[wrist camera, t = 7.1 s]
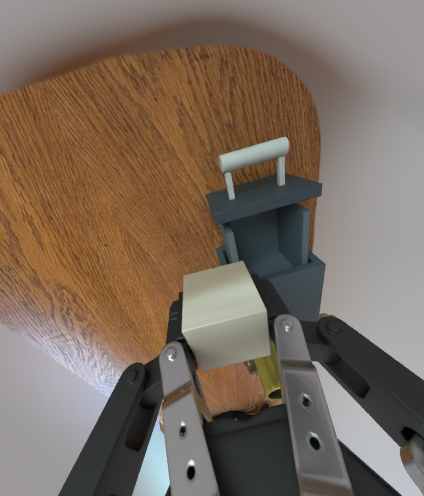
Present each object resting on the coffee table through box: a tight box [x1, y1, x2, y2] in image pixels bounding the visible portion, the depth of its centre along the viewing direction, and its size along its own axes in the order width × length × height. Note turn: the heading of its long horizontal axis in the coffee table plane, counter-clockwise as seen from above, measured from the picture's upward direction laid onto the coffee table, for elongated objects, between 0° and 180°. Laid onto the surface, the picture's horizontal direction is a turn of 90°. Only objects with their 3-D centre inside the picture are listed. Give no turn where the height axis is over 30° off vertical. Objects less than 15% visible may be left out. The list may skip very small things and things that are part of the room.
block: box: [182, 261, 271, 371], centre depth 11 cm, size 4×4×4 cm
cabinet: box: [216, 246, 325, 342], centre depth 28 cm, size 13×12×10 cm
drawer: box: [206, 137, 322, 277], centre depth 22 cm, size 16×11×8 cm, turn 14°
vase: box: [254, 342, 282, 401], centre depth 32 cm, size 6×6×14 cm
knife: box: [238, 406, 257, 414], centre depth 68 cm, size 13×1×3 cm
